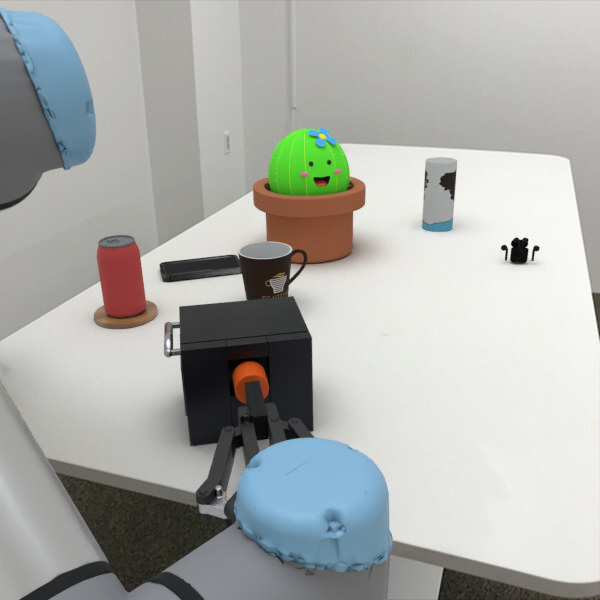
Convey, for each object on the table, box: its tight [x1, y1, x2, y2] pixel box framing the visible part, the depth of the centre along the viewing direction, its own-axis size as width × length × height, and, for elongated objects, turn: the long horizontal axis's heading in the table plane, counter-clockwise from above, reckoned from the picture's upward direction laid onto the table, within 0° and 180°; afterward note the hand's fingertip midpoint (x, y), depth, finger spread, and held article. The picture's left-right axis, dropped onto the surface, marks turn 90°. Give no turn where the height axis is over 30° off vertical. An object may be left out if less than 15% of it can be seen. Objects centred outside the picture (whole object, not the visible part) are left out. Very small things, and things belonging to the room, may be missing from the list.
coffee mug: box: [237, 241, 308, 300], centre depth 105 cm, size 12×9×10 cm
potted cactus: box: [252, 125, 366, 264], centre depth 128 cm, size 22×22×25 cm
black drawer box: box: [163, 295, 314, 447], centre depth 76 cm, size 12×16×12 cm
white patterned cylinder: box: [421, 156, 458, 233], centre depth 143 cm, size 7×7×15 cm
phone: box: [158, 254, 242, 282], centre depth 123 cm, size 8×1×15 cm
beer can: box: [96, 234, 147, 318], centre depth 102 cm, size 7×7×12 cm
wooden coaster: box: [93, 299, 159, 330], centre depth 105 cm, size 10×10×1 cm
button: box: [233, 361, 269, 404], centre depth 69 cm, size 3×4×4 cm
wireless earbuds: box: [500, 236, 541, 264], centre depth 123 cm, size 7×2×5 cm, turn 82°
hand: (252, 393), depth 67 cm, fingers closed
